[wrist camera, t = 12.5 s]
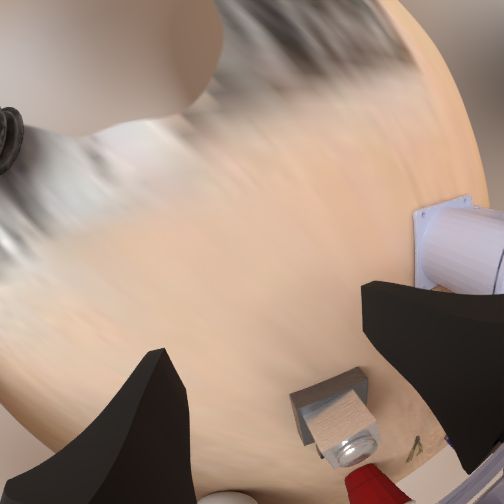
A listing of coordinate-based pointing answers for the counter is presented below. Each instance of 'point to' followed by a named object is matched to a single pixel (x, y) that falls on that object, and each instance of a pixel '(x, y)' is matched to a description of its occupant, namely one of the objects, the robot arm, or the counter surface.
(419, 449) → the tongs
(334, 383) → the dark grey piece
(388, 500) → the plastic cup
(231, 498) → the grey egg-shaped dome
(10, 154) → the salt shaker
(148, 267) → the counter surface
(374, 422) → the cube with round knob
